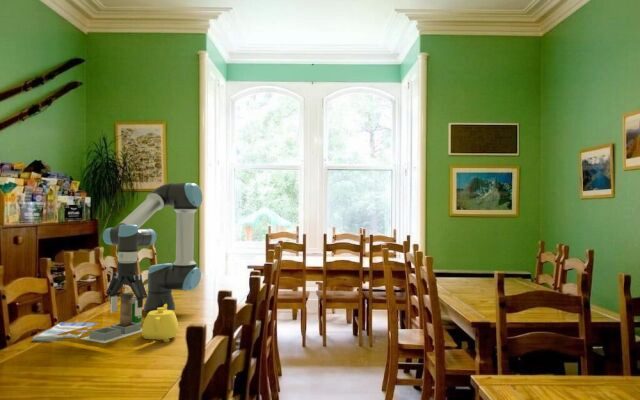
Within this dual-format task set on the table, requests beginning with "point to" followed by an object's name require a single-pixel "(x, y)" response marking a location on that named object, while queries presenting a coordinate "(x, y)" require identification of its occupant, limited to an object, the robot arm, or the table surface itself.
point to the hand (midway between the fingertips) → (125, 313)
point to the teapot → (160, 324)
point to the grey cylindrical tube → (126, 309)
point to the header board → (113, 332)
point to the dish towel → (61, 331)
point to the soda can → (134, 318)
